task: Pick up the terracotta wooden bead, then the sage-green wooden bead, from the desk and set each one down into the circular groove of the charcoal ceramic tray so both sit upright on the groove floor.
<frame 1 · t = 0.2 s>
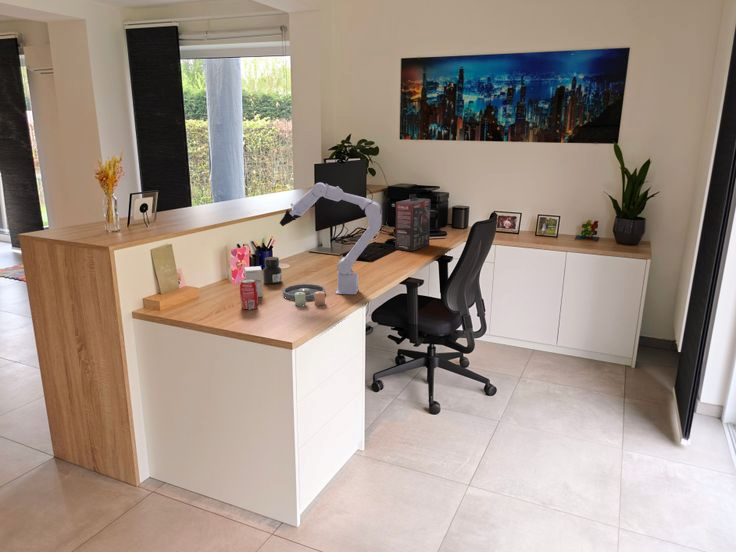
hand: (283, 223, 248), 31 cm above the table, tool tilted 50°, fingers open, 7 cm apart
sage bead: (300, 304, 236), on the table
soda can: (249, 308, 232), on the table
supplement box: (254, 295, 249), on the table
headset box: (412, 247, 349), on the table
terracotta bead: (319, 304, 237), on the table
ink bottle: (272, 282, 270), on the table
groove tray: (304, 294, 251), on the table
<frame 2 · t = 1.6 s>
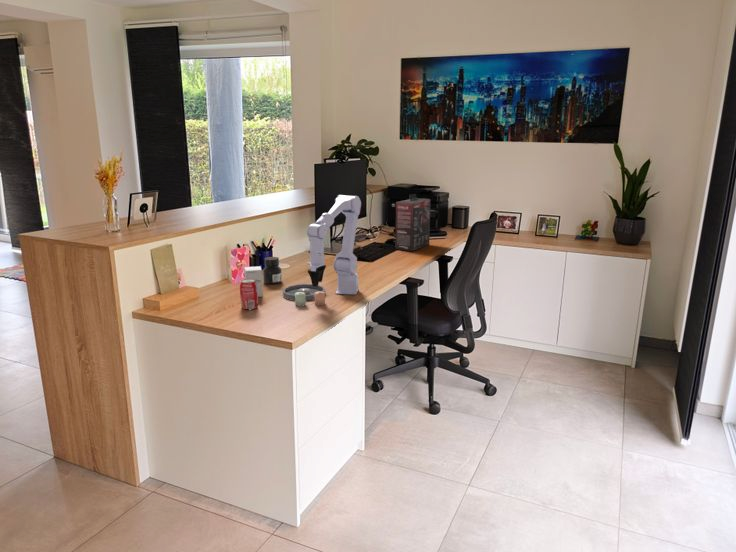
hand: (317, 284, 235), 9 cm above the table, tool pointing down, fingers open, 7 cm apart
nothing on the table moved.
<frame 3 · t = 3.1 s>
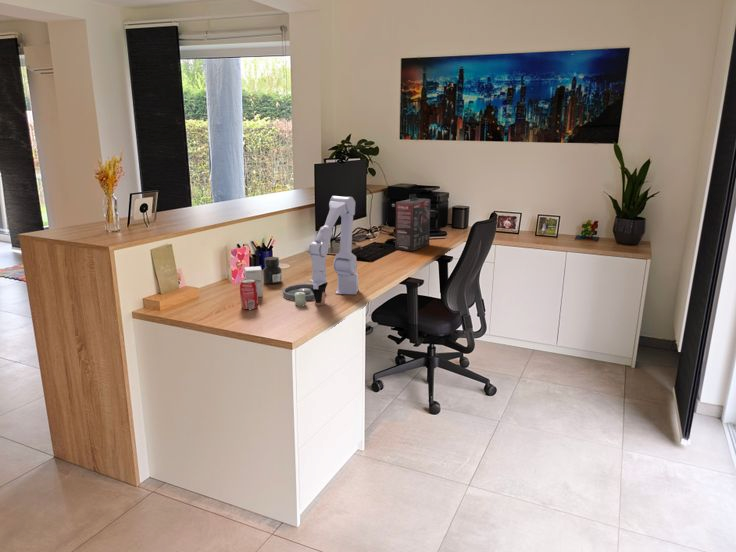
hand: (319, 300, 237), 1 cm above the table, tool pointing down, fingers closed on terracotta bead, 4 cm apart
terracotta bead: (319, 304, 237), on the table, touching gripper
everything else where it was.
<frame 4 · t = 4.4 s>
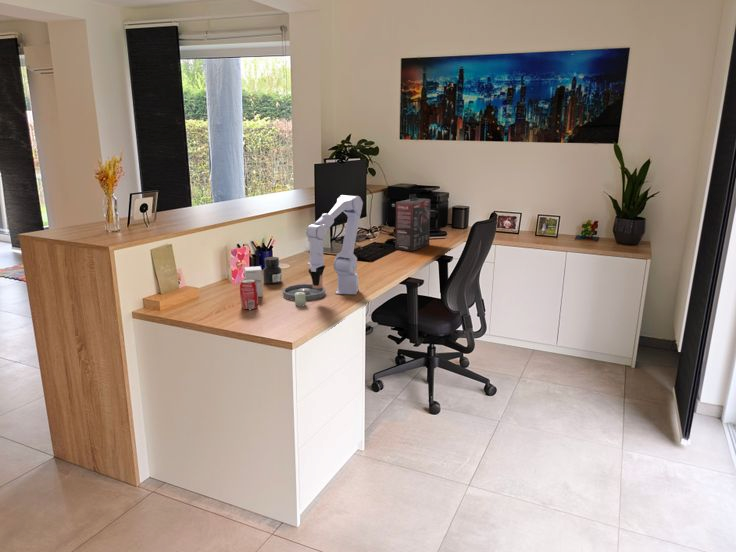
hand: (317, 283, 237), 8 cm above the table, tool pointing down, fingers closed on terracotta bead, 4 cm apart
terracotta bead: (317, 287, 237), point 7 cm above the table, touching gripper
everything else where it was.
when the fingers open (4 cm above the table, at t = 6.1 s): terracotta bead drops 2 cm, resting on groove tray.
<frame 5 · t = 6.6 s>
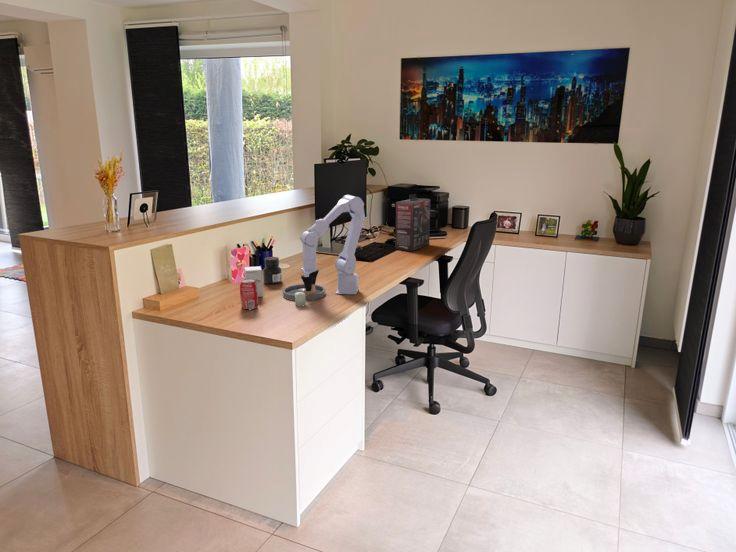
hand: (310, 288, 245), 4 cm above the table, tool pointing down, fingers open, 7 cm apart
terracotta bead: (310, 296, 246), point 1 cm above the table, touching groove tray
everything else where it was.
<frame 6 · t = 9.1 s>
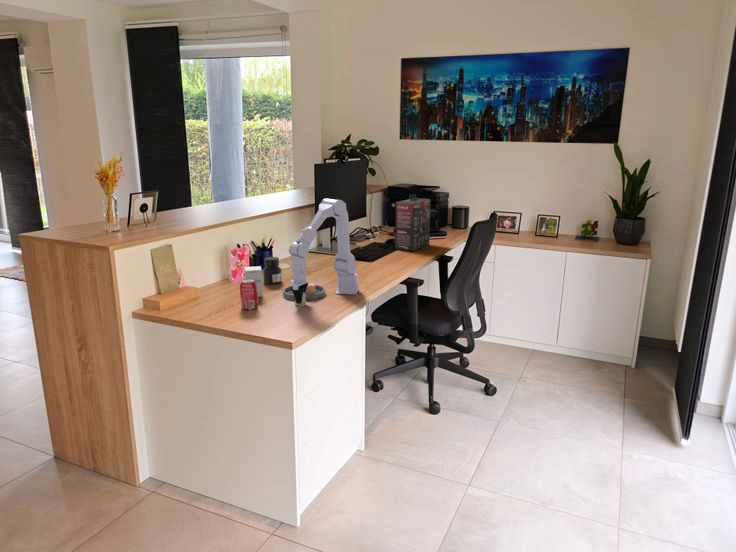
hand: (300, 301, 236), 1 cm above the table, tool pointing down, fingers closed on sage bead, 4 cm apart
sage bead: (300, 304, 236), on the table, touching gripper
everything else where it was.
when the fingers open (4 cm above the table, at t = 12.8 s): sage bead drops 2 cm, resting on groove tray.
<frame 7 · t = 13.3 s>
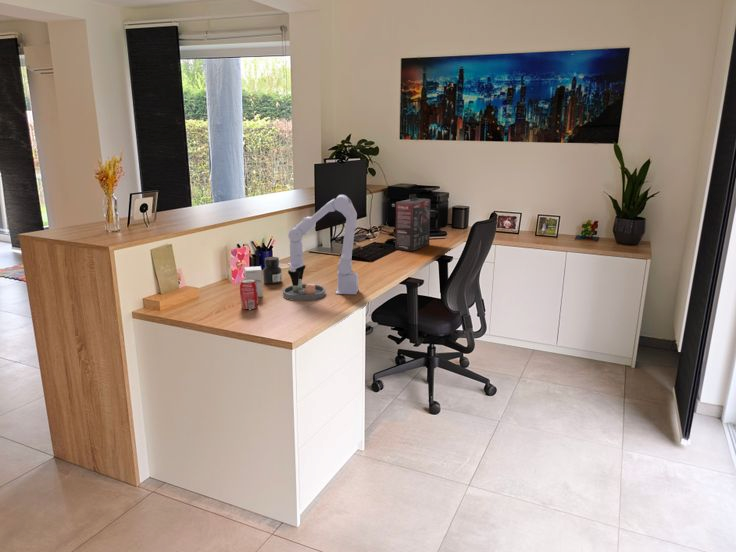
hand: (297, 283, 254), 4 cm above the table, tool pointing down, fingers open, 7 cm apart
sage bead: (297, 290, 255), point 1 cm above the table, touching groove tray
everything else where it was.
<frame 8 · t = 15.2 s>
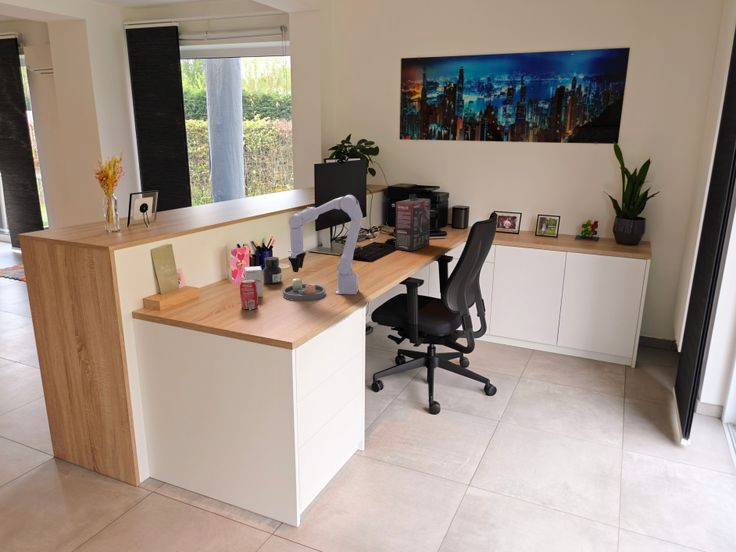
hand: (297, 269, 254), 10 cm above the table, tool pointing down, fingers open, 7 cm apart
nothing on the table moved.
at the end: terracotta bead inside the target area on the groove tray (5.7 cm from its centre), point 0.6 cm above the groove tray's base; sage bead inside the target area on the groove tray (5.6 cm from its centre), point 0.6 cm above the groove tray's base; sage bead tilted 0° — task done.
